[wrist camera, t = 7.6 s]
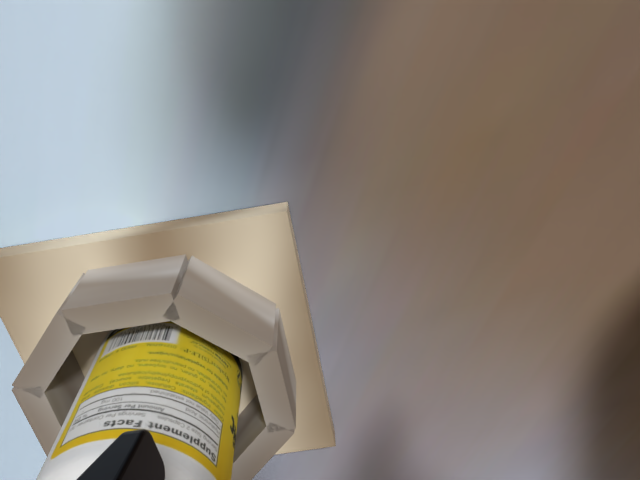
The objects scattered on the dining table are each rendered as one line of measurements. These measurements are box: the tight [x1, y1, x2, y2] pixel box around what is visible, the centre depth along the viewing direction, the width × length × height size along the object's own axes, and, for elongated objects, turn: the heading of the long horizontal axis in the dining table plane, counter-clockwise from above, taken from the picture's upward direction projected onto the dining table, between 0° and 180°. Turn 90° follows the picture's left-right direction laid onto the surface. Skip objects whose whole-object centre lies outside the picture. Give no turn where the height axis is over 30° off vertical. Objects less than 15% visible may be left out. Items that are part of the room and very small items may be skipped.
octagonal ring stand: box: [0, 202, 336, 480], centre depth 21 cm, size 11×11×3 cm
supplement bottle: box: [36, 321, 243, 480], centre depth 18 cm, size 5×5×10 cm
